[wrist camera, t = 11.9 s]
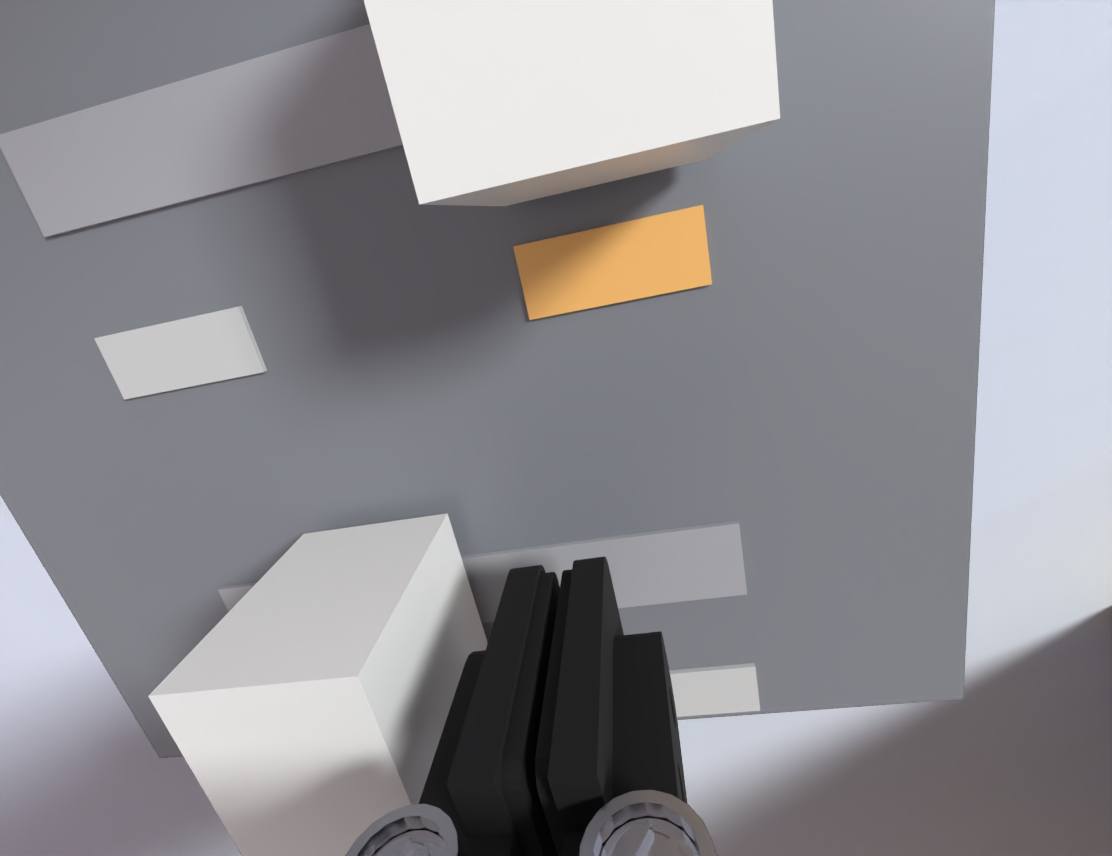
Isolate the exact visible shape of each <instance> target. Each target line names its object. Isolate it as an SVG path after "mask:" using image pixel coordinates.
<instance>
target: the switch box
mask: <svg viewBox="0 0 1112 856" xmlns="http://www.w3.org/2000/svg"><path fill="white" fill-rule="evenodd" d="M772 1H773V16H774V31H775V46H776V61H777V76H778V91H779V106H780V119H778V120H776V121H775V122H773V123H771V124H769V125H767V126H766V127H764V128H762V129H760V130H758V131H756V132H755V133H753V134H751V135H749V136H747V137H746V138H744V139H742V140H740V141H738V142H736V143H735V144H733V145H731V146H729V147H727V148H725V149H724V150H722V151H720V152H718V153H716V154H715V155H713V156H711V157H709V158H707V159H705V160H702V161H698V162H693V163H689V164H685V165H680V166H676V167H672V168H667V169H663V170H659V171H654V172H650V173H646V174H642V175H637V176H633V177H629V178H624V179H620V180H616V181H611V182H607V183H603V184H598V185H594V186H590V187H586V188H581V189H577V190H573V191H568V192H564V193H560V194H555V195H551V196H547V197H542V198H538V199H534V200H529V201H525V202H521V203H517V204H512V205H508V206H462V205H419V202H418V198H417V194H416V191H415V187H414V183H413V180H412V176H411V172H410V169H409V165H408V161H407V158H406V154H405V150H404V147H403V143H402V139H401V136H400V132H399V128H398V125H397V121H396V117H395V114H394V110H393V106H392V103H391V99H390V95H389V92H388V88H387V84H386V81H385V77H384V73H383V70H382V66H381V62H380V59H379V55H378V51H377V48H376V44H375V40H374V37H373V33H372V29H371V26H370V22H369V18H368V15H367V11H366V7H365V4H364V0H0V495H1V497H2V498H3V500H4V502H5V503H6V505H7V507H8V508H9V510H10V512H11V513H12V515H13V517H14V518H15V520H16V522H17V523H18V525H19V527H20V528H21V530H22V531H23V533H24V535H25V536H26V538H27V540H28V541H29V543H30V545H31V546H32V548H33V550H34V551H35V553H36V555H37V556H38V558H39V560H40V561H41V563H42V564H43V566H44V568H45V569H46V571H47V573H48V574H49V576H50V578H51V579H52V581H53V583H54V584H55V586H56V588H57V589H58V591H59V592H60V594H61V596H62V597H63V599H64V601H65V602H66V604H67V606H68V607H69V609H70V611H71V612H72V614H73V616H74V617H75V619H76V621H77V622H78V624H79V625H80V627H81V629H82V630H83V632H84V634H85V635H86V637H87V639H88V640H89V642H90V644H91V645H92V647H93V649H94V650H95V652H96V654H97V655H98V657H99V658H100V660H101V662H102V663H103V665H104V667H105V668H106V670H107V672H108V673H109V675H110V677H111V678H112V680H113V682H114V683H115V685H116V686H117V688H118V690H119V691H120V693H121V695H122V696H123V698H124V700H125V701H126V703H127V705H128V706H129V708H130V710H131V711H132V713H133V715H134V716H135V718H136V719H137V721H138V723H139V724H140V726H141V728H142V729H143V731H144V733H145V734H146V736H147V738H148V739H149V741H150V743H151V744H152V746H153V748H154V749H155V751H156V752H157V754H158V756H159V757H160V758H168V757H181V756H183V755H182V753H181V751H180V750H179V748H178V746H177V744H176V743H175V741H174V739H173V738H172V736H171V734H170V733H169V731H168V729H167V727H166V726H165V724H164V722H163V721H162V719H161V717H160V715H159V714H158V712H157V710H156V709H155V707H154V705H153V704H152V702H151V700H150V698H149V697H148V696H149V695H150V694H151V693H152V692H153V690H154V689H155V688H156V687H157V686H158V685H159V684H160V683H161V682H162V681H163V680H164V679H165V678H166V677H167V676H168V675H169V674H170V673H171V672H172V671H173V670H174V669H175V668H176V666H177V665H178V664H179V663H180V662H181V661H182V660H183V659H184V658H185V657H186V656H187V655H188V654H189V653H190V652H191V651H192V650H193V649H194V648H195V647H196V646H197V645H198V644H199V643H200V641H201V640H202V639H203V638H204V637H205V636H206V635H207V634H208V633H209V632H210V631H211V630H212V629H213V628H214V627H215V626H216V625H217V624H218V623H219V622H220V621H221V620H222V619H223V617H224V616H225V615H226V614H227V613H228V612H229V611H230V610H231V609H232V608H233V607H234V606H235V605H236V604H237V603H238V602H239V601H240V600H241V599H242V598H243V597H244V596H245V595H246V594H247V592H248V591H249V590H250V589H251V588H252V587H253V586H254V585H255V584H256V583H257V582H258V581H259V580H260V579H261V578H262V577H263V576H264V575H265V574H266V573H267V572H268V571H269V570H270V568H271V567H272V566H273V565H274V564H275V563H276V562H277V561H278V560H279V559H280V558H281V557H282V556H283V555H284V554H285V553H286V552H287V551H288V550H289V549H290V548H291V547H292V546H293V544H294V543H295V542H296V541H297V540H298V539H299V538H300V537H301V536H302V535H303V534H306V533H313V532H320V531H327V530H334V529H341V528H348V527H355V526H362V525H369V524H376V523H383V522H390V521H397V520H404V519H411V518H418V517H425V516H432V515H439V514H446V513H448V517H449V520H450V523H451V526H452V529H453V533H454V536H455V539H456V542H457V546H458V549H459V552H460V555H461V558H462V562H463V565H464V568H465V571H466V575H467V578H468V581H469V584H470V587H471V591H472V594H473V597H474V600H475V604H476V607H477V610H478V613H479V616H480V620H481V623H482V626H483V629H484V633H485V636H486V639H487V642H488V640H489V637H490V634H491V630H492V627H493V623H494V620H495V617H496V613H497V610H498V606H499V603H500V600H501V596H502V593H503V589H504V586H505V583H506V579H507V576H508V573H509V571H510V569H513V568H521V567H528V566H536V565H542V566H543V567H544V569H545V572H546V573H548V572H555V573H556V575H557V578H558V582H559V586H560V584H561V577H562V572H563V571H564V570H571V569H572V567H573V561H575V560H581V559H589V558H596V557H604V556H605V557H606V559H607V561H608V565H609V570H610V574H611V579H612V583H613V588H614V592H615V597H616V601H617V606H618V610H619V615H620V619H621V624H622V628H623V633H624V635H631V634H641V633H650V632H659V631H661V632H662V635H663V640H664V645H665V650H666V655H667V660H668V666H669V671H670V677H671V683H672V689H673V695H674V701H675V708H676V716H677V720H684V719H698V718H712V717H725V716H739V715H752V714H766V713H779V712H793V711H807V710H820V709H834V708H847V707H861V706H875V705H888V704H902V703H915V702H929V701H943V700H956V699H963V694H964V672H965V650H966V628H967V606H968V584H969V562H970V540H971V518H972V496H973V474H974V452H975V430H976V408H977V386H978V365H979V343H980V321H981V299H982V277H983V255H984V233H985V211H986V189H987V167H988V145H989V123H990V101H991V79H992V57H993V35H994V13H995V0H772Z"/></svg>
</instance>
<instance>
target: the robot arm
mask: <svg viewBox="0 0 1112 856" xmlns="http://www.w3.org/2000/svg"><path fill="white" fill-rule="evenodd" d="M345 856H717V854H716V851H715V848H714V844H713V841H712V839H711V837H710V835H709V833H708V830H707V828H706V826H705V824H704V822H703V820H702V819H701V818H700V817H699V816H698V815H697V814H696V812H695V811H694V810H693V809H692V808H691V807H690V806H689V805H688V804H687V798H686V789H685V781H684V773H683V764H682V756H681V748H680V740H679V731H678V723H677V716H676V708H675V701H674V695H673V689H672V683H671V677H670V671H669V666H668V660H667V655H666V650H665V645H664V640H663V635H662V632H661V631H659V632H650V633H641V634H631V635H624V633H623V628H622V624H621V619H620V615H619V610H618V606H617V601H616V597H615V592H614V588H613V583H612V579H611V574H610V570H609V565H608V561H607V559H606V557H605V556H604V557H596V558H589V559H581V560H575V561H573V567H572V569H571V570H564V571H563V572H562V577H561V584H560V586H559V582H558V578H557V575H556V573H555V572H548V573H546V572H545V569H544V567H543V566H542V565H536V566H528V567H521V568H513V569H510V571H509V573H508V576H507V579H506V583H505V586H504V589H503V593H502V596H501V600H500V603H499V606H498V610H497V613H496V617H495V620H494V623H493V627H492V630H491V634H490V637H489V640H488V644H487V647H486V650H483V651H474V652H472V653H471V654H469V656H468V658H467V660H466V662H465V665H464V668H463V671H462V674H461V677H460V680H459V683H458V686H457V689H456V692H455V695H454V698H453V701H452V704H451V707H450V710H449V713H448V716H447V719H446V722H445V725H444V728H443V731H442V734H441V737H440V740H439V743H438V746H437V749H436V752H435V755H434V759H433V762H432V765H431V768H430V771H429V774H428V777H427V780H426V783H425V786H424V789H423V792H422V795H421V798H420V801H419V804H412V805H406V806H403V807H401V808H398V809H395V810H392V811H390V812H388V813H387V814H385V815H384V816H382V817H381V818H379V819H378V820H376V821H375V822H373V823H372V824H371V825H370V826H369V827H368V828H367V829H366V830H365V831H364V832H363V833H362V834H361V835H360V836H359V837H358V838H357V839H356V840H355V842H354V843H353V845H352V846H351V848H350V849H349V851H348V852H347V854H346V855H345Z"/></svg>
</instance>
